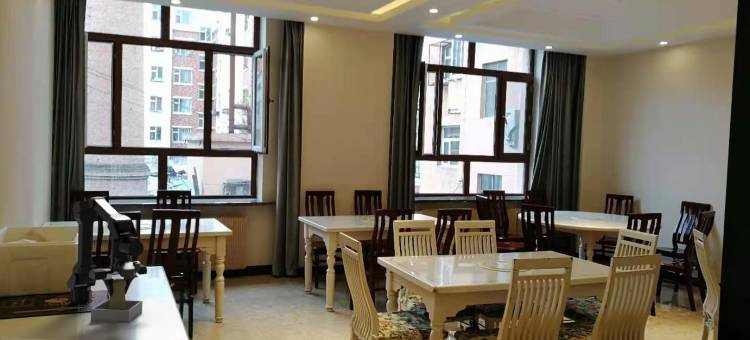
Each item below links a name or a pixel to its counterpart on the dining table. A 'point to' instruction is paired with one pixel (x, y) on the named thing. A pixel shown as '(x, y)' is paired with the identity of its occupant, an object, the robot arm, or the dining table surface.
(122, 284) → the cork
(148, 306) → the dining table surface
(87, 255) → the robot arm
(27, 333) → the dining table surface
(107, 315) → the bin
